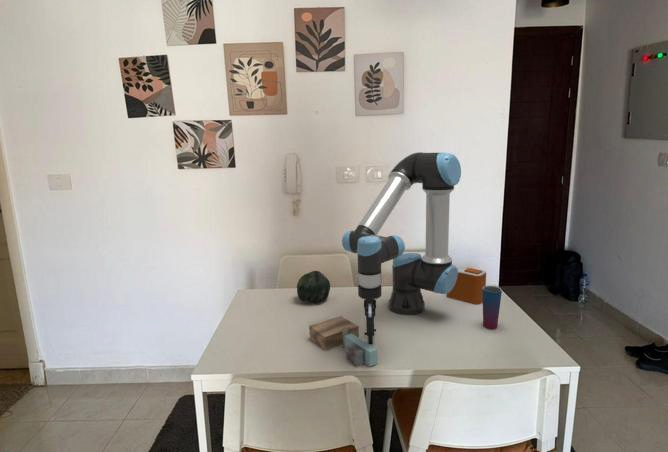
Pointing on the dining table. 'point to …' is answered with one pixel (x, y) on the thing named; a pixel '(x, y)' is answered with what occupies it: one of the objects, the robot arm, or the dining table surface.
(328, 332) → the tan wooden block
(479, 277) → the brown toaster
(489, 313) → the cup
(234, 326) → the dining table surface
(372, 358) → the teal block
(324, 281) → the squash
